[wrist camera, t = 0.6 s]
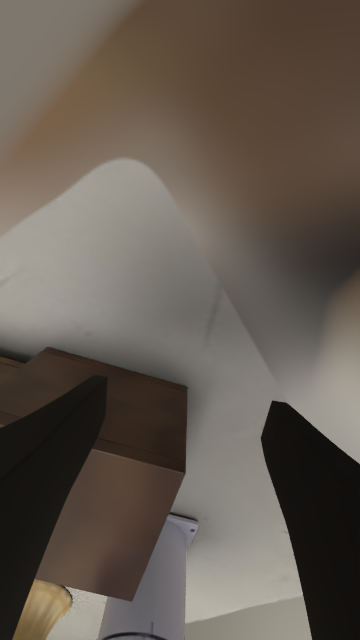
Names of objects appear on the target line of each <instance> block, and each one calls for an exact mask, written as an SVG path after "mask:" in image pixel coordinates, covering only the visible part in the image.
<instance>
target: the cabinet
mask: <svg viewBox="0 0 360 640" xmlns="http://www.w3.org/2000/svg"><path fill="white" fill-rule="evenodd" d="M93 375H99V376H106V377H108V383H107V401H106V416H105V419H104V422H103V424H102V427H101V430H100V432H99V435H98V438H97V440H96V442H95V444H94V446H93V448H92V450H91V452H90V453H89V455H88V457H87V459H86V461H85V463H84V465H83V467H82V469H81V471H80V473H79V475H78V477H77V479H76V481H75V483H74V484H73V486H72V488H71V490H70V493H69V495H68V497H67V499H66V501H65V504H64V506H63V508H62V511H61V513H60V516H59V518H58V521H57V523H56V526H55V528H54V530H53V533H52V535H51V538H50V541H49V543H48V546H47V548H46V551H45V553H44V556H43V558H42V561H41V564H40V566H39V569H38V571H37V574H36V577H35V579H37V580H41V581H45V582H49V583H54V584H58V585H62V586H66V587H71V588H75V589H79V590H83V591H88V592H92V593H96V594H100V595H105V596H109V597H113V598H117V599H122V600H126V601H130V602H132V601H133V599H134V596H135V594H136V591H137V589H138V587H139V584H140V582H141V579H142V577H143V575H144V572H145V570H146V567H147V565H148V563H149V560H150V558H151V555H152V553H153V551H154V548H155V546H156V543H157V541H158V539H159V536H160V534H161V531H162V529H163V526H164V524H165V522H166V519H167V517H168V514H169V512H170V510H171V507H172V505H173V502H174V500H175V498H176V495H177V493H178V490H179V488H180V486H181V483H182V481H183V478H184V476H185V473H186V433H187V387H185V386H181V385H178V384H174V383H171V382H167V381H164V380H160V379H157V378H153V377H150V376H146V375H143V374H139V373H136V372H132V371H129V370H125V369H122V368H118V367H115V366H111V365H108V364H104V363H101V362H97V361H94V360H90V359H87V358H83V357H80V356H76V355H73V354H69V353H66V352H62V351H59V350H55V349H52V348H48V347H47V348H45V349H44V350H43V351H41V352H40V353H39V354H37V355H36V356H35V357H34V358H32V359H31V360H30V361H28V362H27V363H26V364H25V365H23V366H22V367H21V368H20V369H18V370H17V371H16V372H14V373H13V374H12V375H11V376H9V377H8V378H7V379H5V380H4V381H3V382H2V383H0V428H1V427H3V426H6V425H8V424H10V423H12V422H14V421H16V420H18V419H21V418H23V417H25V416H27V415H29V414H30V413H32V412H34V411H36V410H38V409H40V408H41V407H43V406H45V405H47V404H48V403H50V402H52V401H54V400H55V399H57V398H59V397H60V396H62V395H63V394H65V393H67V392H68V391H70V390H71V389H73V388H74V387H76V386H77V385H79V384H80V383H82V382H83V381H85V380H86V379H88V378H90V377H91V376H93Z"/></svg>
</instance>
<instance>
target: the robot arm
mask: <svg viewBox="0 0 360 640" xmlns="http://www.w3.org/2000/svg"><path fill="white" fill-rule="evenodd" d="M107 383H108V377H106V376H99V375H93V376H91V377H90V378H88V379H86V380H85V381H83V382H82V383H80V384H79V385H77V386H76V387H74V388H73V389H71V390H70V391H68V392H67V393H65V394H63V395H62V396H60V397H59V398H57V399H55V400H54V401H52V402H50V403H48V404H47V405H45V406H43V407H41V408H40V409H38V410H36V411H34V412H32V413H30V414H29V415H27V416H25V417H23V418H21V419H18V420H16V421H14V422H12V423H10V424H8V425H6V426H3V427H1V428H0V640H12V639H13V637H14V634H15V631H16V628H17V625H18V623H19V620H20V617H21V614H22V612H23V609H24V606H25V603H26V601H27V598H28V595H29V593H30V590H31V587H32V585H33V582H34V579H35V577H36V574H37V571H38V569H39V566H40V564H41V561H42V558H43V556H44V553H45V551H46V548H47V546H48V543H49V541H50V538H51V535H52V533H53V530H54V528H55V526H56V523H57V521H58V518H59V516H60V513H61V511H62V508H63V506H64V504H65V501H66V499H67V497H68V495H69V493H70V490H71V488H72V486H73V484H74V483H75V481H76V479H77V477H78V475H79V473H80V471H81V469H82V467H83V465H84V463H85V461H86V459H87V457H88V455H89V453H90V452H91V450H92V448H93V446H94V444H95V442H96V440H97V438H98V435H99V432H100V430H101V427H102V424H103V422H104V419H105V416H106V401H107ZM261 442H262V447H263V453H264V457H265V462H266V465H267V468H268V471H269V474H270V477H271V480H272V483H273V486H274V489H275V492H276V495H277V498H278V501H279V504H280V507H281V510H282V513H283V516H284V519H285V522H286V525H287V529H288V532H289V536H290V540H291V544H292V548H293V552H294V556H295V560H296V564H297V569H298V573H299V578H300V582H301V587H302V591H303V596H304V601H305V605H306V610H307V616H308V621H309V625H310V631H311V636H312V640H360V464H359V463H358V462H356V461H355V460H354V459H352V458H351V457H350V456H348V455H347V454H346V453H345V452H344V451H342V450H341V449H340V448H338V447H337V446H336V445H335V444H334V443H332V442H331V441H330V440H329V439H328V438H327V437H325V436H324V435H323V434H322V433H321V432H320V431H318V430H317V429H316V428H315V427H314V426H312V424H311V423H309V422H308V421H307V420H306V419H305V418H304V417H303V416H302V415H300V414H299V413H298V412H297V411H296V410H295V409H293V408H292V407H291V406H290V405H289V404H287V403H285V402H278V401H272V403H271V406H270V409H269V413H268V416H267V419H266V422H265V426H264V429H263V432H262V436H261ZM197 530H198V522H196V521H194V520H190V519H186V518H182V517H178V516H174V515H170V514H168V517H167V519H166V522H165V524H164V526H163V529H162V531H161V534H160V536H159V539H158V541H157V543H156V546H155V548H154V551H153V553H152V555H151V558H150V560H149V563H148V565H147V567H146V570H145V572H144V575H143V577H142V579H141V582H140V584H139V587H138V589H137V591H136V594H135V596H134V599H133V601H132V602H130V601H126V600H122V599H117V598H113V597H109V596H108V597H107V602H106V606H105V610H104V615H103V619H102V623H101V628H100V632H99V636H98V640H185V595H186V552H187V550H188V548H189V546H190V544H191V542H192V540H193V538H194V536H195V534H196V532H197Z"/></svg>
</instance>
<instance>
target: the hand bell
mask: <svg viewBox="0 0 360 640" xmlns="http://www.w3.org/2000/svg"><path fill="white" fill-rule="evenodd" d="M71 605H72V599H71V596H70V594H69V592H68V591H67V590H66V589H65V588H64V587H62V586H61V585H58V584H54V583H49V582H45V581H41V580H37V579H34V582H33V585H32V587H31V590H30V593H29V595H28V598H27V601H26V603H25V606H24V609H23V612H22V614H21V617H20V620H19V623H18V625H17V628H16V631H15V634H14V637H13V639H12V640H46V638H47V636H48V634H49V632H50V631H51V629H52V628H53V626H54V625H55V624H56V622H57V621H58V620H59V619H60V618H62V617H63V616H64V615H65V614H66V613H67V612H68V611H69V609H70V607H71Z"/></svg>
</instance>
